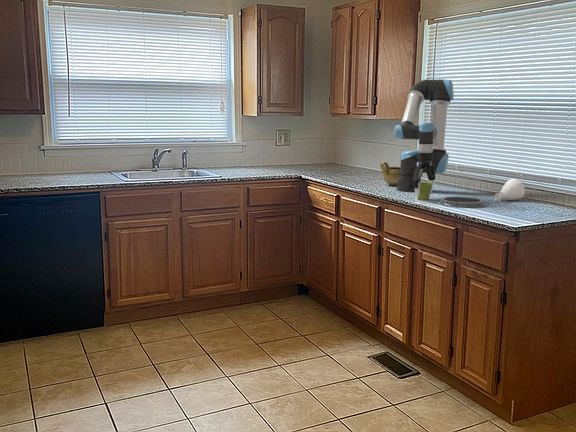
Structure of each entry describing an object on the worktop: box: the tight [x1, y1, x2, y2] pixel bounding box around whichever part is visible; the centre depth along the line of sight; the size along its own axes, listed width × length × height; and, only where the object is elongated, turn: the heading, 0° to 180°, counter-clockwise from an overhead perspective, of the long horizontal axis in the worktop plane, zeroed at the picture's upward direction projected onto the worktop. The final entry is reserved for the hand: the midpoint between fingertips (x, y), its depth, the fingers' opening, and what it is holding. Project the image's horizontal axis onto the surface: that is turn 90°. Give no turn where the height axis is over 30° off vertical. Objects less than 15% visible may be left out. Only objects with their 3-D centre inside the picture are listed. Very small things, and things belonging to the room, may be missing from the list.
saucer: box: [438, 196, 485, 209], centre depth 299 cm, size 22×22×2 cm
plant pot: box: [416, 181, 434, 201], centre depth 313 cm, size 9×9×9 cm
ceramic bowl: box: [379, 161, 400, 187], centre depth 368 cm, size 22×17×15 cm
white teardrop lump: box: [492, 178, 526, 203], centre depth 310 cm, size 12×12×18 cm
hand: (423, 193), depth 313 cm, fingers open, 11 cm apart
